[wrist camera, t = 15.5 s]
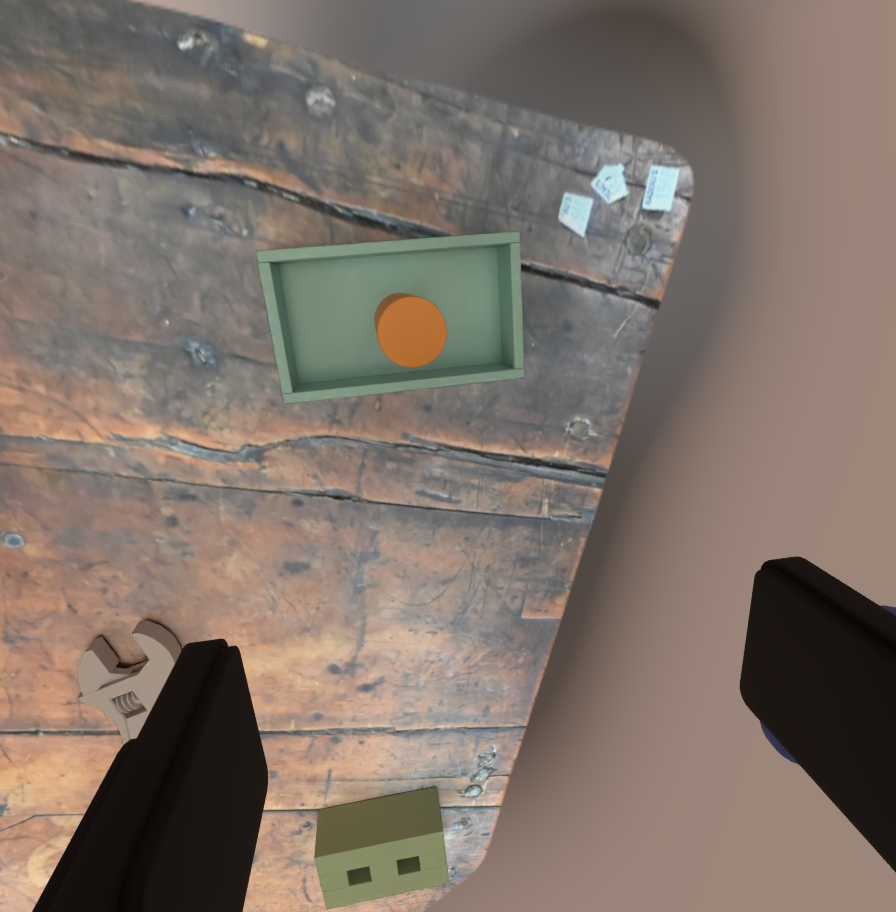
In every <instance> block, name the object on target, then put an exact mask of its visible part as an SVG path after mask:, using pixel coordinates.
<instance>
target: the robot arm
mask: <svg viewBox="0 0 896 912" xmlns="http://www.w3.org/2000/svg"><path fill="white" fill-rule="evenodd" d="M740 692H741V695H742V698H743V700H744V702H745V704H746V705H747V706H748V708H749V709H750V710H751V711H752V712H753V713H754V715H755V716H756V717H757V718H758V719H759V720H760V721H761V722H762V723H763V725H764V726H765V727H766V728H767V729H768V730H769V731H770V732H771V734H772V735H773V736H774V737H775V738H776V739H777V740H778V741H779V742H780V744H781V745H782V746H783V747H784V748H785V749H786V750H787V751H788V753H789V754H790V755H791V756H792V757H793V758H794V759H795V760H796V761H797V763H798V764H799V765H800V766H801V767H802V768H803V769H804V770H805V771H806V773H807V774H808V775H809V776H810V777H811V778H812V779H813V780H814V781H815V783H816V784H817V785H818V786H819V787H820V788H821V789H822V791H823V792H824V793H825V794H826V795H827V796H828V797H829V798H830V799H831V801H832V802H833V803H834V804H835V805H836V806H837V807H838V808H839V809H840V811H841V812H842V813H843V814H844V815H845V816H846V817H847V818H848V819H849V821H850V822H851V823H852V824H853V825H854V826H855V827H856V828H857V830H858V831H859V832H860V833H861V834H862V835H863V836H864V837H865V839H867V841H868V842H869V843H870V844H871V845H872V846H873V847H874V849H876V851H877V852H878V853H879V854H880V855H881V856H882V857H883V859H884V860H886V862H887V863H888V864H889V865H890V866H891V868H892V869H893V870H894V871H895V872H896V616H895V615H893V614H892V613H890V612H889V611H887V610H886V609H884V608H882V607H881V606H879V605H878V604H876V603H874V602H873V601H871V600H870V599H868V598H866V597H865V596H863V595H862V594H860V593H858V592H857V591H855V590H854V589H852V588H851V587H849V586H847V585H846V584H844V583H842V582H841V581H839V580H838V579H836V578H835V577H833V576H831V575H830V574H828V573H827V572H825V571H823V570H822V569H820V568H819V567H817V566H815V565H814V564H812V563H811V562H809V561H808V560H806V559H804V558H802V557H789V558H781V559H775V560H768V561H766V562H764V564H763V565H762V567H761V570H759V571H758V572H757V573H756V574H755V578H754V585H753V592H752V599H751V606H750V614H749V621H748V629H747V635H746V643H745V650H744V658H743V665H742V672H741V679H740ZM267 787H268V769H267V764H266V759H265V755H264V751H263V747H262V743H261V738H260V734H259V730H258V726H257V722H256V717H255V713H254V709H253V705H252V700H251V696H250V692H249V688H248V684H247V679H246V675H245V671H244V667H243V663H242V658H241V654H240V651H239V648H238V647H237V646H230V647H228V644H227V642H226V641H225V640H224V639H215V640H208V641H201V642H194V643H188V644H186V645H185V646H184V648H183V649H182V651H181V653H180V655H179V657H178V659H177V661H176V663H175V665H174V667H173V668H172V670H171V672H170V674H169V676H168V678H167V680H166V682H165V684H164V686H163V688H162V690H161V692H160V694H159V696H158V698H157V699H156V701H155V703H154V705H153V707H152V709H151V711H150V713H149V715H148V717H147V719H146V721H145V723H144V725H143V727H142V729H141V731H140V732H139V734H138V736H137V738H135V739H130V740H129V741H128V742H126V743H125V744H124V745H123V746H122V748H121V749H120V751H119V752H118V754H117V755H116V757H115V759H114V761H113V763H112V765H111V767H110V768H109V770H108V772H107V774H106V776H105V778H104V780H103V781H102V783H101V785H100V787H99V789H98V791H97V792H96V794H95V796H94V798H93V800H92V802H91V804H90V805H89V807H88V809H87V811H86V813H85V815H84V817H83V818H82V820H81V822H80V824H79V826H78V828H77V830H76V831H75V833H74V835H73V837H72V839H71V841H70V843H69V844H68V846H67V848H66V850H65V852H64V854H63V855H62V857H61V859H60V861H59V863H58V865H57V867H56V868H55V870H54V872H53V874H52V876H51V878H50V880H49V881H48V883H47V885H46V887H45V889H44V891H43V893H42V894H41V896H40V898H39V900H38V902H37V904H36V906H35V907H34V909H33V911H32V912H242V911H243V907H244V902H245V897H246V892H247V887H248V882H249V877H250V872H251V867H252V862H253V857H254V853H255V848H256V843H257V838H258V833H259V828H260V823H261V818H262V813H263V808H264V804H265V799H266V794H267Z"/></svg>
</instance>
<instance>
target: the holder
mask: <svg viewBox="0 0 896 912" xmlns="http://www.w3.org/2000/svg"><path fill="white" fill-rule="evenodd" d="M314 859H315V863H316V867H317V871H318V876H319V879H320V883H321V888H322V892H323V897H324V901H325V905H326V909H327V910H328V909H333V908H337V907H342V906H346V905H351V904H355V903H360V902H365V901H369V900H374V899H378V898H383V897H387V896H392V895H396V894H401V893H406V892H410V891H415V890H419V889H424V888H428V887H433V886H438V885H442V884H447V883H449V878H448V869H447V860H446V852H445V843H444V834H443V827H442V820H441V812H440V805H439V798H438V791H437V787H431V788H426V789H421V790H416V791H411V792H406V793H401V794H396V795H391V796H386V797H380V798H375V799H370V800H365V801H360V802H355V803H350V804H345V805H340V806H335V807H330V808H325V809H320V810H319V811H318V822H317V833H316V845H315V856H314Z"/></svg>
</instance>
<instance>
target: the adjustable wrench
mask: <svg viewBox="0 0 896 912" xmlns="http://www.w3.org/2000/svg"><path fill="white" fill-rule="evenodd" d="M131 635H132V636H133V638H134V639H135V641H136V642H137V643H138V645H139V646H140V647H141V649H142V650H143V651H144V653H145V654H146V656H147V657H148V659H147V660H146V661H145V662H142V663H139V664H136V665H134V666H131V667H129V668H126V669H124V668H117V667H116V665H117V664H118V662H119V661H120V660H119V659H118V658H117V656H116V655H115V654H114V652H113V651H112V650H111V648H110V647H109V646H108V644H107V643H106V642H105V640H104V639H103V638H102V637H98V638H96V639H94V641H93V642H92V643H91V645H90V646H89V647H88V649H87V650H86V651H85V653H84V655H83V656H82V658H81V661H80V664H79V668H78V682H79V686H80V690H81V694H80V695H79V696H78V698H77V699H78V700H79V701H80V702H83V703H87V704H88V705H92V706H94V707H95V708H97V709H99V710H100V711H101V712H103V713H104V714H105V715H106V716H108V717H109V718H110V719H111V720H112V721H113V722H114V723H115V724H116V726H117V727H118V729H119V731H120V733H121V736H122V739H123V744H125V743H126V742H128V741H129V740H130V739H135V738H137V736H138V734H139V732H140V731H141V729H142V727H143V725H144V723H145V721H146V719H147V717H148V715H149V713H150V711H151V709H152V707H153V705H154V703H155V701H156V699H157V698H158V696H159V694H160V692H161V690H162V688H163V686H164V684H165V682H166V680H167V678H168V676H169V674H170V672H171V670H172V668H173V667H174V665H175V663H176V661H177V659H178V657H179V655H180V653H181V647H180V645H179V643H178V641H177V640H176V638H175V637H174V636H173V635H172V634H171V633H170V632H169V631H167V630H166V629H165V628H163V627H162V626H161V625H158V624H155V623H153V622H150V621H140V622H139V623H138V625H137V626H136V628H135V629H134V631H133V632H132V634H131Z"/></svg>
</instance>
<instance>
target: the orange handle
mask: <svg viewBox="0 0 896 912" xmlns="http://www.w3.org/2000/svg"><path fill="white" fill-rule="evenodd" d="M374 323H375V328H376V332H377V337H378V341H379V345H380V347H381V349H382V351H383V352H384V354H385V355H386V356H387V357H388V358H389V359H390V360H391V361H393V362H394V363H396V364H398V365H400V366H404V367H409V368H416V367H421V366H424V365H427V364H429V363H430V362H432V361H433V360H434V359H436V358H437V357H438V355H439V354H440V353H441V351H442V350H443V348H444V345H445V342H446V338H447V327H446V322H445V319H444V317H443V315H442V313H441V311H440V310H439V309H438V308H437V307H436V306H435V305H434V304H433V303H432V302H430V301H428V300H427V299H424V298H421V297H418V296H414V295H410V294H407V293H393V294H390V295H388V296H387V297H385V298H384V299H383V300H382V301H381V302H380V303H379V305H378V306H377V308H376V311H375V316H374Z"/></svg>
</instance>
